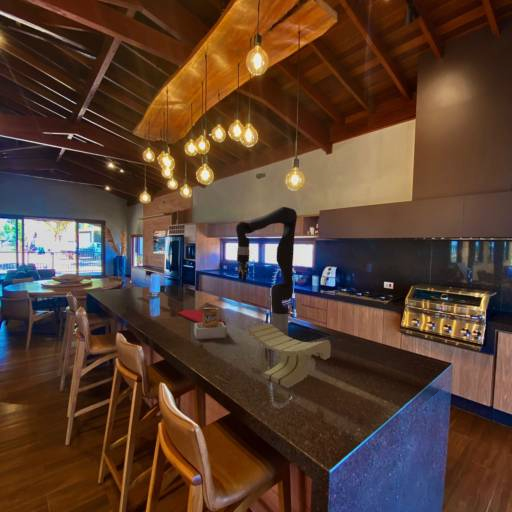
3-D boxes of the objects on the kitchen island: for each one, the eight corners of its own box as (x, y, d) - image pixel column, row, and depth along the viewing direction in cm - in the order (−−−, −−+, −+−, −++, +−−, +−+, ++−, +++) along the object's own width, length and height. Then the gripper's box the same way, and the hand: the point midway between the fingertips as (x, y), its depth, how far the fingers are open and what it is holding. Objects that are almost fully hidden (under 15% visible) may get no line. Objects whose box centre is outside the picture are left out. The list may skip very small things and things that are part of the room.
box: (226, 337, 159) (226, 327, 158) (196, 339, 153) (196, 328, 153) (221, 331, 170) (222, 321, 170) (193, 333, 164) (194, 323, 164)
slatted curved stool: (328, 382, 110) (331, 338, 109) (307, 397, 98) (309, 347, 98) (270, 359, 130) (272, 322, 130) (247, 369, 118) (249, 328, 118)
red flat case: (196, 312, 217) (196, 307, 217) (226, 325, 186) (226, 319, 186) (177, 315, 207) (177, 310, 207) (205, 328, 176) (205, 322, 176)
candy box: (202, 334, 159) (203, 308, 159) (202, 332, 163) (203, 307, 163) (217, 335, 160) (218, 308, 160) (217, 332, 164) (218, 307, 164)
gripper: (252, 254, 166) (251, 281, 166) (245, 254, 179) (244, 278, 180) (240, 254, 164) (239, 281, 164) (234, 253, 177) (233, 278, 177)
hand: (242, 280), depth 172 cm, fingers open, 8 cm apart
